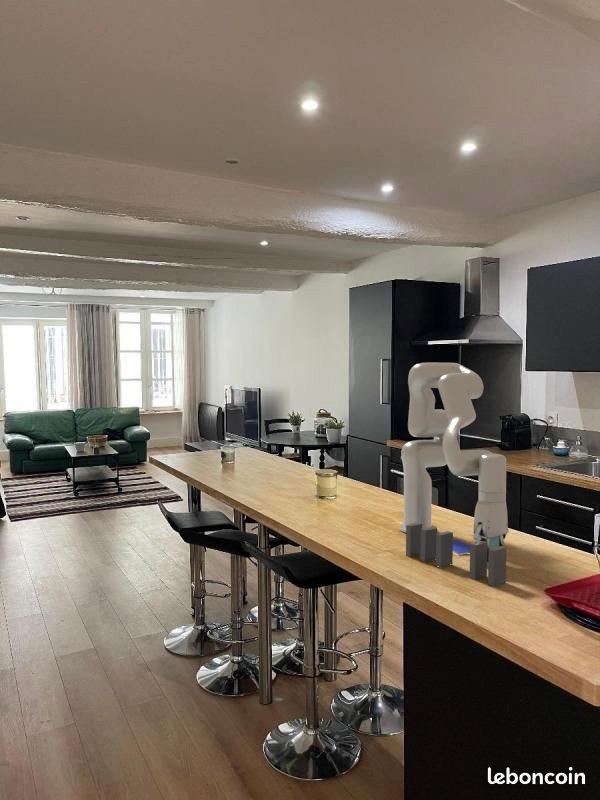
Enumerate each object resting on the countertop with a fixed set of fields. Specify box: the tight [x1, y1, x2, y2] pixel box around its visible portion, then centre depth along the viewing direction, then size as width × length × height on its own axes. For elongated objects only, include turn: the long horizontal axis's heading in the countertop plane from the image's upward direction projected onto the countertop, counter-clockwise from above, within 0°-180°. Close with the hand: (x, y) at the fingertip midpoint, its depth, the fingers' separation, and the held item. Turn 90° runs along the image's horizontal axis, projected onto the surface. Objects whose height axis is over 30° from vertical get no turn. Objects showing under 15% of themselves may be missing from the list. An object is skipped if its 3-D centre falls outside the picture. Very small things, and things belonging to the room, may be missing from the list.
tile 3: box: [435, 530, 454, 568], centre depth 175 cm, size 2×5×10 cm, turn 125°
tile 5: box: [469, 541, 488, 581], centre depth 165 cm, size 2×5×10 cm, turn 125°
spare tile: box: [483, 534, 499, 567], centre depth 175 cm, size 2×5×10 cm, turn 125°
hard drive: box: [453, 539, 470, 556], centre depth 192 cm, size 2×8×12 cm
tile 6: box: [487, 546, 507, 588], centre depth 160 cm, size 2×5×10 cm, turn 125°
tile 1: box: [405, 523, 422, 558], centre depth 185 cm, size 2×5×10 cm, turn 125°
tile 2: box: [420, 526, 438, 563], centre depth 180 cm, size 2×5×10 cm, turn 125°
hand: (490, 558), depth 175 cm, fingers closed on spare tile, 4 cm apart
